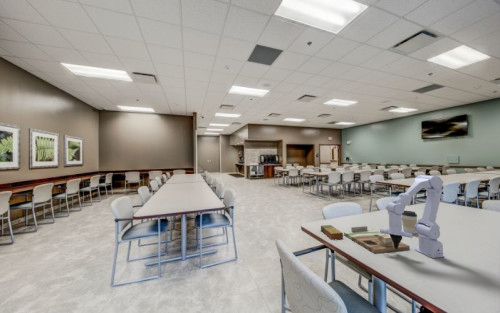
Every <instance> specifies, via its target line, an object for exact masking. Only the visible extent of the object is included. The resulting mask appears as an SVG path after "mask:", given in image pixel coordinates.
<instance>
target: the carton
mask: <svg viewBox="0 0 500 313" xmlns="http://www.w3.org/2000/svg"><path fill="white" fill-rule="evenodd" d="M320 231H321V232H322V233H324V235H326V236H327V237H328V238H330V239H331V240H338V239H339V240H343V238H344V232H342V231H341V230H339V229H337V228H336V227H334V226H333V225H331V224H328V225H327V224H326V225H320Z"/></svg>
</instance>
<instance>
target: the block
mask: <svg viewBox="0 0 500 313" xmlns="http://www.w3.org/2000/svg"><path fill="white" fill-rule="evenodd" d="M378 243H379V244H381V245H383V246H385V247H386V246H393V243H392V239H391V237H390V235H389V234H380V235H378Z"/></svg>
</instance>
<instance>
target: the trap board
mask: <svg viewBox="0 0 500 313" xmlns="http://www.w3.org/2000/svg"><path fill="white" fill-rule="evenodd" d="M380 234H381V233H380V231H377V230H375V229H369V230H368V226H367V225H364V226H352V227H351V230H350V231H344V232H343V236H345V237H346V238H349V239H350V240H351V241H352V242H355V243H356V244H358V245H360V246H361V247H363V248H364V249H366V250H368V251H369V252H371V253H373V254H379V253H388V252H389V253H390V252H399V251H407V250H410V249H411V248H410V245H408V244H406V243H404V242H402V241H401V242H400V243H399V246H398V249H395V248H394V244H393V246H386V247H385V246H383V245H381V244H379V243H378V235H380ZM392 243H393V241H392Z"/></svg>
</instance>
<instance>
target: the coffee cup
mask: <svg viewBox="0 0 500 313" xmlns="http://www.w3.org/2000/svg"><path fill="white" fill-rule="evenodd" d="M417 217H418V215H417V213H416V212H415V211H412V210H411V211H410V210H404V213H402V214H401V218H402V231H403V232H406V233H411V234H412V235H413V234H414V235H416V233H417V232H416V231H415V228H414V227H415V225H416V223H417V221H418V218H417Z"/></svg>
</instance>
